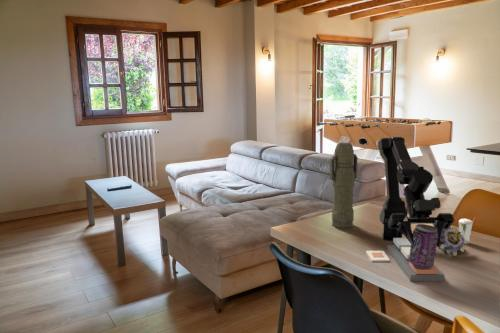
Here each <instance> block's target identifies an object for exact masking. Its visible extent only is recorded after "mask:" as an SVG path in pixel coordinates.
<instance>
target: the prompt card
mask: <svg viewBox="0 0 500 333" xmlns="http://www.w3.org/2000/svg"><path fill="white" fill-rule="evenodd" d="M365 253H366V255H367V256H368V258H369V260H370V261H371V262H374V263H378V262H380V263H381V262H382V263H383V262H391V260H390V258H389V256H388V255H387V254H386V252H385V251H384V250H366V251H365Z"/></svg>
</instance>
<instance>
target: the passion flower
mask: <svg viewBox="0 0 500 333" xmlns="http://www.w3.org/2000/svg"><path fill="white" fill-rule="evenodd" d="M463 236H464V234H462V233H461V232H459V229H457V226H453V227H451V226H450V227H449V228H447V229H443V230H442V231H441V238H440V245H439V247H437V248H438V249H439V250H442V249H444V252H445V254H446V255H449V254H450V255H451V256H452V257H454V258H455V257H457V255H458V251H460V252H462V253H464V252H465V244H464V243H467V242H468V240H466V239H464V237H463Z"/></svg>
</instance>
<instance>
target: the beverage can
mask: <svg viewBox="0 0 500 333" xmlns="http://www.w3.org/2000/svg"><path fill="white" fill-rule="evenodd" d="M437 230H438V229H437V228H435V227H434V226H433V225H431V224H415V227H414V229H413V230H412V233H413V240H414V244H415V246H412V245H411V248H410V255H409V262H410V263H412V264H413V265H415V266H417V267H420V268H429V267H432V266H433V265H434V264H435V258H436V251H437V248H438V247H437V241H438V233H437Z"/></svg>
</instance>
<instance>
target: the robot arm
mask: <svg viewBox="0 0 500 333" xmlns="http://www.w3.org/2000/svg"><path fill="white" fill-rule="evenodd" d="M405 141H406V140H405V137H402V136H391V137H382V138H380V139H379V140H378V142H377V148H378V150H379V155H380V157H381V158H382V160H384V161H383V162H384V170H385V171H384V172H385V175H384V176H385V187H386V199H385V201H384V202H383V205H382V209H381V211H380V213H379V221H380V223H381V224H382V225H383V226H382V227H383V228H382V233H381V234H382V239H383V240H387V241H393V238H403V236H404V238H407V239H408V241H409V242H410V243H411V245H412V246H415V244H414V240H413V230H412V224H415V225H417V224H425V225H431V224H432V226H433V227H435V228H437V229H438V230H437V233H438V241H437V247H436V248H438V247H439V245H440V238H441V231H442V230H443V229H447V228H449V227H451V226H452V225H453V224H454V222H455V221H456V220H455V216H454V215H453V214H452V213H451V212H439V213H438V214H437V216H433V217H432V214H433V211H435V212H436V209H438V210H439V209H440V208H441V206H442V205H441V200H440V197H432V198H431V199H426V198H425V194H424V193H426V192H427V190H428V188H430V185H431V183H432V182H433V180H434V176H433V174H432V173H431V172H430V171H429V170H427V169H425V167H424V166H419V164H418V163H416V162H414V161H413V160H412V158H411V156H410V153H409V151H408V148H407V146H406V144H405V143H406V142H405ZM400 185H406V186H404V188H403V196H404V198H405V201H404V200H403V199H402V198H401V197H400ZM408 216H409V217H408ZM430 216H431V217H430Z"/></svg>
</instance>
